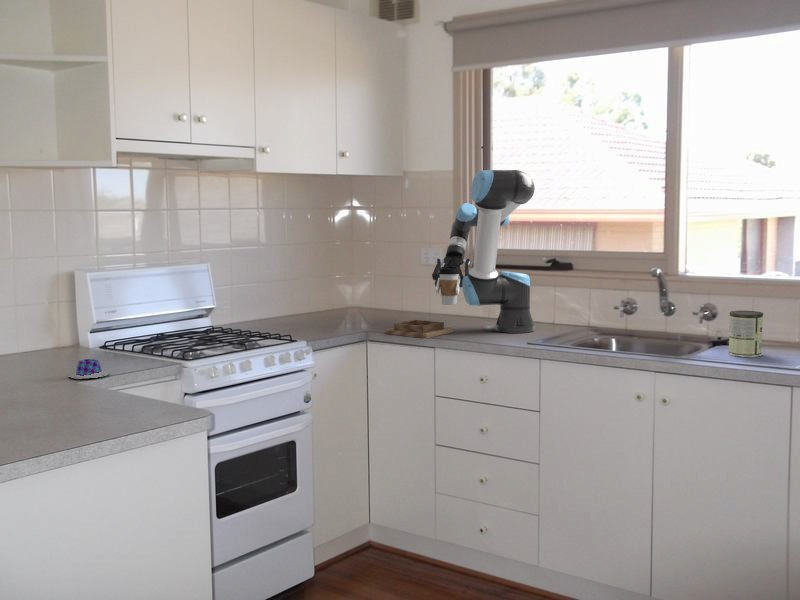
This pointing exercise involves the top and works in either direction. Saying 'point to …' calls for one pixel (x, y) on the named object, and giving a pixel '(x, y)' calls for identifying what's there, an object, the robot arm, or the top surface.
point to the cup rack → (419, 329)
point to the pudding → (88, 367)
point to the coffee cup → (448, 284)
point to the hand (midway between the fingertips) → (447, 292)
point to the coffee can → (745, 333)
